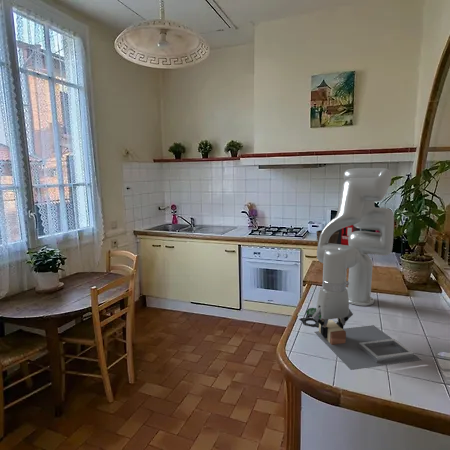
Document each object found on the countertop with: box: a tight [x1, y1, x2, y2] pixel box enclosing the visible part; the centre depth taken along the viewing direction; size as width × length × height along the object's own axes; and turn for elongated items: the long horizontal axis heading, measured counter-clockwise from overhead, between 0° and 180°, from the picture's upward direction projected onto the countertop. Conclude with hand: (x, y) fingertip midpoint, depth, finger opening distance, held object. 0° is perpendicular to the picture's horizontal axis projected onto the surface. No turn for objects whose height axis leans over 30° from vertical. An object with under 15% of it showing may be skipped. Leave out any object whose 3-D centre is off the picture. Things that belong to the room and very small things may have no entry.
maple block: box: [318, 319, 346, 345], centre depth 111 cm, size 9×5×4 cm, turn 11°
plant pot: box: [316, 229, 339, 244], centre depth 224 cm, size 15×15×16 cm
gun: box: [299, 307, 321, 328], centre depth 127 cm, size 16×2×10 cm
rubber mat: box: [314, 324, 422, 371], centre depth 107 cm, size 23×24×1 cm
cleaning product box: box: [336, 225, 360, 246], centre depth 239 cm, size 16×9×20 cm, turn 73°
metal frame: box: [359, 338, 415, 363], centre depth 102 cm, size 9×13×2 cm
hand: (331, 334), depth 111 cm, fingers closed on maple block, 5 cm apart
